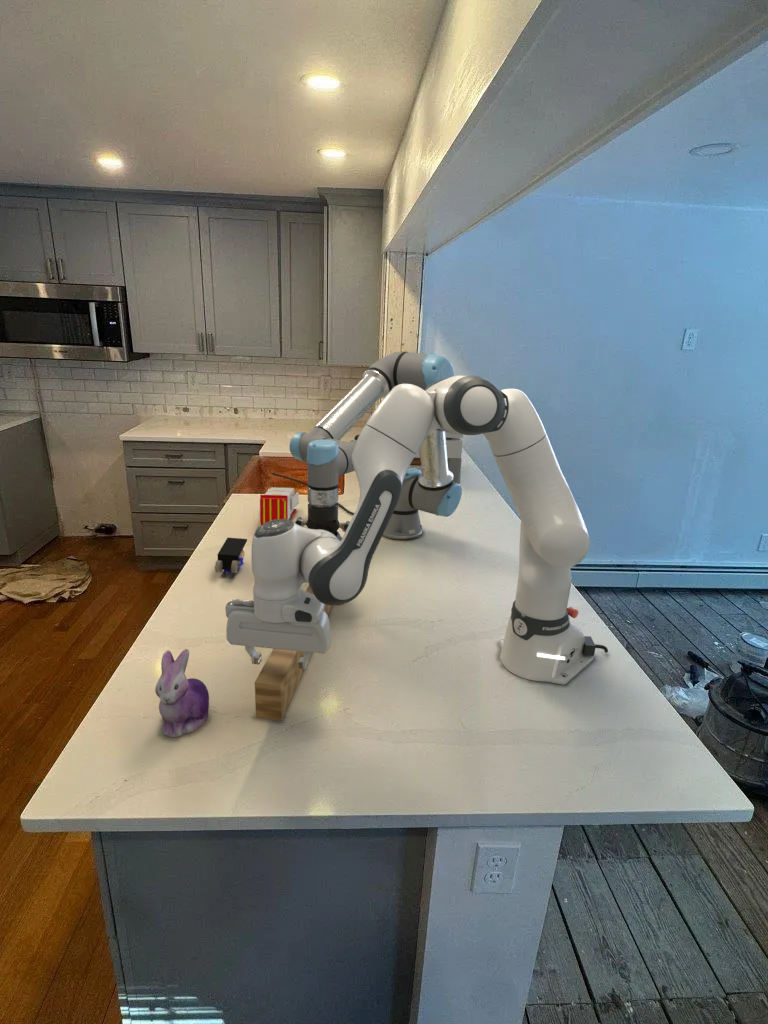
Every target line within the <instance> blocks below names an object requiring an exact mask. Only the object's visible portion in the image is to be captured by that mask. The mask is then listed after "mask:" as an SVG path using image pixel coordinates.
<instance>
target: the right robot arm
mask: <svg viewBox="0 0 768 1024" xmlns="http://www.w3.org/2000/svg"><path fill="white" fill-rule="evenodd" d="M435 430H439V431H444V432H447V433H450V434H454V435H462V434H463V436H478V435H483V436H484V437H485V439H486V440H487V441H488V444H489V447H490V450H491V453H492V455H493V457H494V460H495V462H496V463H497V467H498V468H499V472H500V474H501V476H502V479H503V481H504V483H505V486H506V488H507V490H508V493H509V496H510V497H511V499H512V501H513V504H514V506H515V509H516V512H517V514H518V516H519V518H520V531H519V553H518V555H519V557H518V558H519V559H518V560H519V562H518V563H519V564H518V566H519V567H518V577H517V584H516V592H515V599H514V600H513V602H512V606H511V610H510V611H511V613H510V616H509V618H508V621H507V626H506V630H505V633H504V637H503V638H502V639H501V640H500V643H499V645H500V649H501V651H500V655H499V660H500V662H501V664H502V665H503V667H505V669H506V670H507V671H508V672H510V673H512V674H514V675H516V676H518V677H520V678H522V679H525V680H530V681H535V682H549V683H553V684H557V685H563V686H564V685H567V684H568V683H569V682H571V680H572V679H574V678H575V677H576V676H577V675H578V674H579V673H580V672H581V671H582V670H584V669H585V668H586V667H587V666H588V665H590V663H592V662H593V661H594V657H595V653H596V649H600V650H603V651H604V652H605V654H607V653H608V652H609V648H608V647H607V646H606V645H603V644H596V643H595V641H594V640H593V638H592V636H587V635H585V634H584V633H583V631H582V630H581V629H580V628H578V627H577V626H576V625H574V624H573V623H572V622H571V621H570V618H572V619H576V618H577V617H578V615H579V610H578V609H576V608H574V607H572V606H570V607H568V605H569V599H570V593H571V587H572V580H573V579H572V578H573V577H572V567H575V566H576V565H578V564H580V563H581V562H582V561H584V560H585V558H586V557H587V555H588V553H589V552H590V547H591V542H590V535H589V531H588V528H587V525H586V522H585V520H584V517H583V515H582V513H581V511H580V509H579V506H578V504H577V502H576V499H575V497H574V495H573V493H572V491H571V489H570V486H569V484H568V482H567V480H566V477H565V476H564V473H563V471H562V469H561V467H560V464H559V461H558V459H557V456H556V454H555V451H554V449H553V447H552V444H551V442H550V439H549V435H548V434H547V431H546V429H545V427H544V424H543V422H542V419H541V418H540V416H539V414H538V412H537V410H536V408H535V407H534V405H533V403H532V401H531V400H530V399H529V397H528V396H527V394H526V393H525V392H523V391H522V390H520V389H517V388H504V389H500V388H498V387H497V386H496V385H495V384H494V383H492V382H491V381H489V380H488V379H486V378H484V377H482V376H479V375H455V376H453V377H450V378H446V379H442V380H439V381H437V382H435V383H433V384H431V385H430V386H428V387H426V388H425V389H422V388H420V387H418V386H416V385H412V384H399V385H397V386H395V387H394V388H393V389H392V390H391V391H390V392H389V393H388V394H387V395H386V397H384V398H382V400H381V401H380V402H379V403H378V406H376V408H375V409H374V411H373V412H372V414H371V415H370V417H369V418H368V419H367V422H366V423H365V425H364V426H363V428H362V430H361V432H360V433H359V434H360V435H359V434H358V435H359V437H358V439H357V441H356V444H355V447H354V450H353V453H352V463H353V467H354V470H355V471H354V473H355V474H356V477H357V482H358V486H359V499H358V503H357V507H356V509H355V511H354V512H353V513H354V515H353V514H352V517H351V519H350V521H349V522H350V523H349V526H348V528H347V530H346V532H344V534H343V536H342V540H341V541H340V540H339V539H338V538H337V537H336V536H335V535H333V534H332V533H331V532H329V531H327V530H323V529H309V528H307V527H305V526H304V527H302V526H299V525H297V524H296V523H295V522H294V521H293V520H291V519H289V520H288V519H276V520H271V521H268V522H266V523H264V524H263V525H261V524H260V526H258V527H257V528H256V530H255V531H254V533H253V536H252V541H251V542H252V543H251V572H252V575H253V578H254V582H253V587H252V596H253V597H252V598H253V600H248V599H244V600H243V599H237V598H234V599H232V600H230V601H228V602H226V605H225V608H224V609H225V616H226V618H227V622H226V629H225V630H226V631H225V632H226V633H225V634H226V637H225V638H226V641H227V642H228V644H230V645H232V646H243V647H244V650H245V652H246V653H247V654H248V656H249V657H250V658H251V664H252V665H258V666H259V665H260V664H261V663H262V659H263V657H262V652H258V650H257V649H256V648H263V649H272V650H273V649H281V650H291V651H301V652H303V653H304V656H305V657H300V660H299V661H298V665H299V666H298V669H304V670H307V668H308V664H309V663H308V662H309V659H310V658H311V656H312V654H320V655H321V654H325V653H326V652H327V651H328V650H329V648H330V646H331V642H332V631H331V630H332V629H331V623H330V618H329V615H328V616H327V614H326V613H325V612H324V607H325V604H326V605H330V606H332V607H336V606H338V607H339V606H342V605H346V604H348V603H350V602H352V601H353V600H354V599H356V598H357V597H358V596H359V595H360V594H361V593H362V592H363V590H364V588H365V586H366V584H367V581H368V576H369V571H370V565H371V562H372V559H373V557H374V555H375V552H376V551H377V549H378V546H379V544H380V542H381V539H382V538H383V533H384V531H385V529H386V527H387V525H388V523H389V520H390V518H391V516H392V514H393V512H394V510H395V507H396V505H397V502H398V500H399V497H400V493H401V488H402V483H403V480H404V477H405V475H406V472H407V470H408V468H410V464H411V462H412V460H413V458H414V457H415V454H416V453H417V452H418V450H419V448H420V446H421V444H422V442H423V440H425V439H426V437H427V436H428V435H429V434H430V433H431V432H433V431H435ZM306 583H307V584H308V585H310V587H311V589H312V591H313V593H314V594H311V593H309V592H306V590H304V589H303V588H301V587H302V585H303V584H306ZM569 616H570V617H569Z"/></svg>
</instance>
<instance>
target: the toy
mask: <svg viewBox="0 0 768 1024" xmlns="http://www.w3.org/2000/svg"><path fill="white" fill-rule="evenodd" d="M299 494H300V493H299V491H297V492H296V493H295V488H294V487H270V488H269V489H268V490H267V491H266V492H265V493H264V494H259V520H260V521H259V524H260V526H261V525H263V524H264V523H266V522H268V521H271V520H276V519H288V520H290V518H292V517H293V516H294V514H295V513H296V511H297V506H298V505H299V503H300V496H299Z"/></svg>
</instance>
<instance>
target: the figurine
mask: <svg viewBox="0 0 768 1024" xmlns="http://www.w3.org/2000/svg"><path fill="white" fill-rule="evenodd" d="M189 658H190V649H187V648H184V649H183V650H182V651H181V652H180V654H179V655H178V656H177V657H176V659H175V658H174V656H173V652H171V651H170V650H167V649H166V651H165V652H163V654H162V657H161V663H160V665H161V668H160V669H161V674H160V676H159V678H158V680H157V682H156V684H155V688H154V689H155V694H156V696H157V697H158V698H159V703H158V712H159V714H160V716H161V720H162V727H161V733H162V734H163V735H164V736H168V737H171V738H179V737H181V736H183V735H184V734H191V733H192V732H194V731H196V730H197V729H199V728H201V726H203V725H204V724H205V723H207V721H208V718H209V709H210V695H209V690H208V687H207V685H206V684H205V683H204V682H203V681H202V680H200V679H198V678H195V677H194V678H191V677H190V678H187V676H186V673H185V672H186V669H187V665H188V662H189Z"/></svg>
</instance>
